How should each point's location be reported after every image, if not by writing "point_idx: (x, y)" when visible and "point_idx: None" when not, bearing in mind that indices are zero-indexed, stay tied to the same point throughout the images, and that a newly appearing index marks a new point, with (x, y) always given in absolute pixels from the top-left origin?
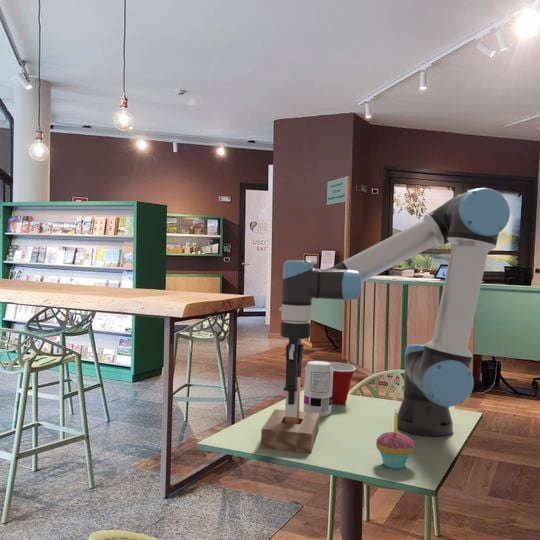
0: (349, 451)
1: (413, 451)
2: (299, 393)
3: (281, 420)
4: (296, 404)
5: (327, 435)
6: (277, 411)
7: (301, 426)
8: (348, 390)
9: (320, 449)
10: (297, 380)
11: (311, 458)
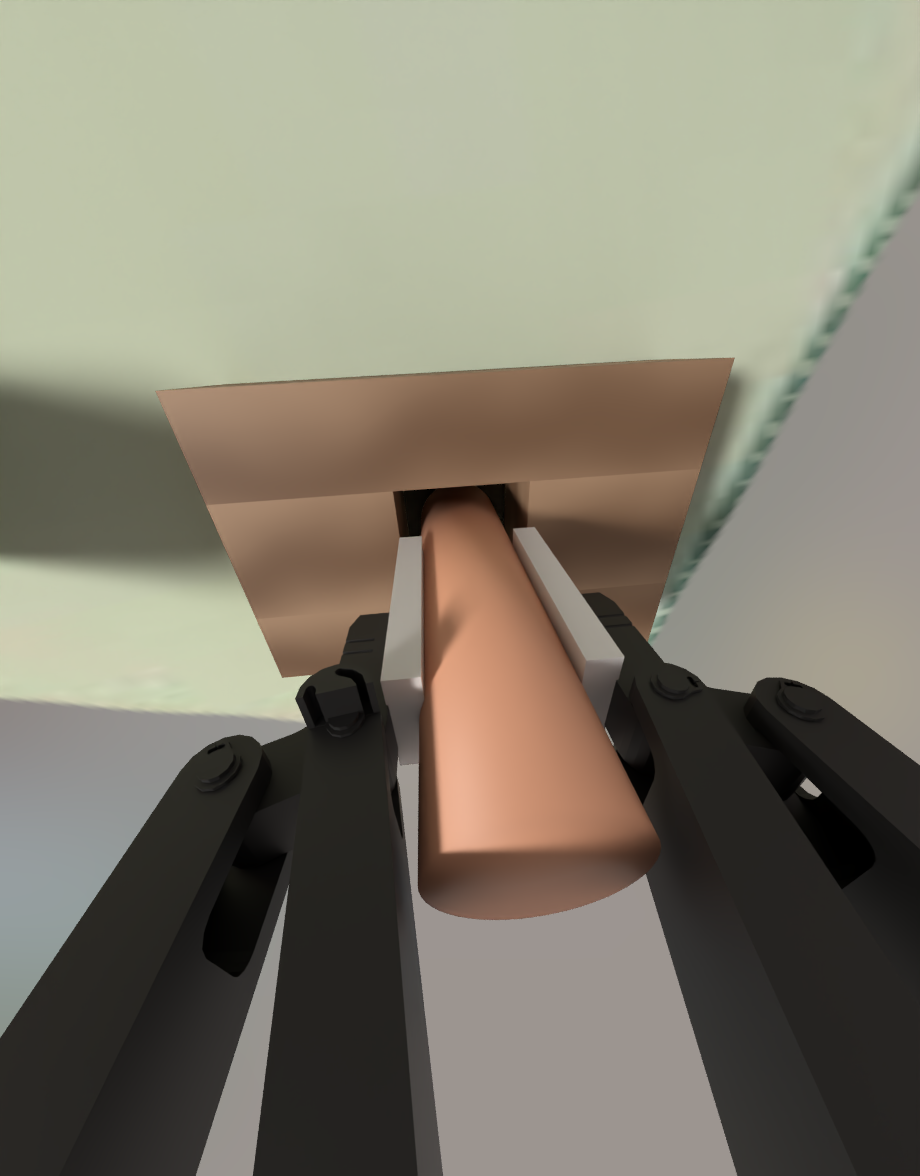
0: (602, 15)
1: None
2: (515, 623)
3: None
4: (566, 576)
5: (301, 296)
6: (317, 657)
7: (575, 466)
8: None
9: (590, 307)
10: (632, 802)
11: (734, 342)
